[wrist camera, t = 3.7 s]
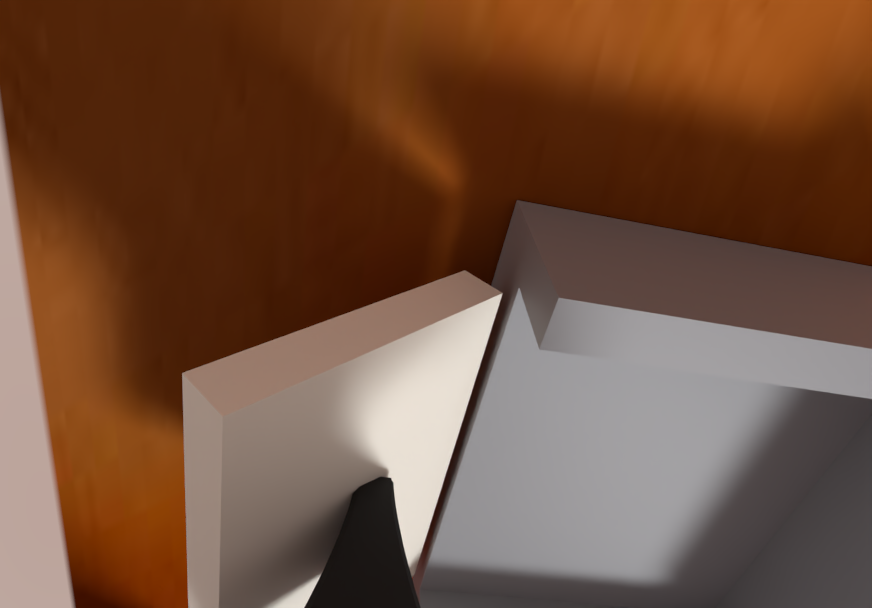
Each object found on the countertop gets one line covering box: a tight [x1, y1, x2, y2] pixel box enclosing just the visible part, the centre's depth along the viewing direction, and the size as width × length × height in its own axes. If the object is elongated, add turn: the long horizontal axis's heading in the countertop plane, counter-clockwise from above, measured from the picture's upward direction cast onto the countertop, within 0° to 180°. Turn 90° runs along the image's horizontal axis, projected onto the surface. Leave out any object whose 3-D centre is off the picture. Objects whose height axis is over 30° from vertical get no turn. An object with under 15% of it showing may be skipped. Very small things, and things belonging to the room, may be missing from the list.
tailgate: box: [182, 270, 503, 608], centre depth 12 cm, size 1×9×6 cm
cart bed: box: [413, 200, 872, 608], centre depth 13 cm, size 10×12×6 cm
